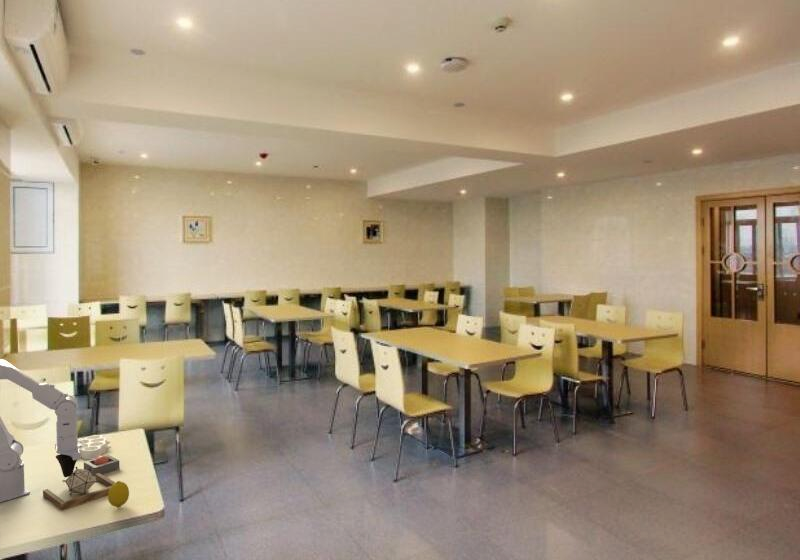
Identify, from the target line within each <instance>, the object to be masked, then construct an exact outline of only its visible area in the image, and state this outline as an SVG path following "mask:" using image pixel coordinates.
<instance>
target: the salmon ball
mask: <svg viewBox="0 0 800 560" xmlns="http://www.w3.org/2000/svg"><path fill="white" fill-rule="evenodd" d="M94 459H95V458H94ZM108 462H109V459H108V458H107V457H106V455H101V456H99V457H97V458H96V459H95V462H94V465H96V466H98V465H101V464H105V463H108Z"/></svg>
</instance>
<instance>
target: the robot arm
mask: <svg viewBox="0 0 800 560" xmlns="http://www.w3.org/2000/svg"><path fill="white" fill-rule="evenodd" d="M0 380H8V381H10V382H12V383H14V384H15V385H18V386H19V387H21V388H23V389H25V390H26V391H28V392H30V393H31V394H32V399H33V400H35V401H36V402H38V403H40V404H41V405H43V406H45V407H46V408H48V409H50V410H53V411H54V413H55V415H56V423H55V425H56V427H55V428H56V442H55V444H54V445H55V446H54V449H55V452H56V454H57V455H55V458H56V460H57V461H58V464H59V466H60V468H61V473H62V475H63V477H64V478H68V477H69V476H70V475H71V474H72V473H73V472H74V471H75V468H76V463H77V461H78V460H79V459H81V458H80V452H79V448H81V447H82V445H80V444H78V440H79V439H78V433H79V431H78V418H77V416H78V415H77V410H78V401H77V400H76V398H75V397H74V396H73V395H70V394H68V392H65V393H64V392H62V391H61V390H59V389H57V388H56V385H55V384H53V383H51V384H49V383H48V382H44V383H39V382H38V381H36V380H35V379H33V378H32V377H30V376H29V375H28V374H26V373H25V372H24V371H22V370H21V369H19V368H17V367H16V366H14V365H13V364H12V363H10V362H9V361H7V360H5V359H3V358H0ZM23 453H24V446H23V444H22V443H21V442H20V441H18V440H17V439H15V436H14V435H13V434H11V433H10V432H9V430H8V428H7V427H6V425H5V423H4V421H3V419H2V417H1V416H0V503H3V502H6V501H9V500H13V499H17V498H19V497H23V496H26V495H28V494H30V493H31V491H29V490H28V489H27V488H25V462H24V461H23V460H22V459H21V457H22V454H23Z"/></svg>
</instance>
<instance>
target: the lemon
mask: <svg viewBox="0 0 800 560" xmlns="http://www.w3.org/2000/svg"><path fill="white" fill-rule="evenodd" d="M129 496H130V489H129V486H128V485H127V483H125V482H123V481H121V480H118V481H116V482H115V483H114V484H113V485H112V486H111V487H110V489H109V492H108V495H107V500H108V503H109V504H110V505H111V506H112V507H115V508H117V509H120V508H121V507H122V506H123V505H125V504H126V503H127V501H128V500H129ZM119 507H120V508H119Z"/></svg>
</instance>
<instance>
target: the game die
mask: <svg viewBox="0 0 800 560" xmlns="http://www.w3.org/2000/svg"><path fill="white" fill-rule="evenodd" d="M90 470H91V468H90V469H89V470H86V469H84V468H78V467H77V466H75V469H74V471H73V473H72V474H71V475H70V476H69V477H66V478H67V479H63V480H62V482H63V483H66V486H67V487H68V492H70V493H69V496H71V495H72V494H78V495H79V494H80V495H85V494H87V492H88V491H89V490H90V489H91V488H92V486H93V485H95V483H99V482H98V481H96V480H95V477H94V476H93V475H92V473H91V471H90Z"/></svg>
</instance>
